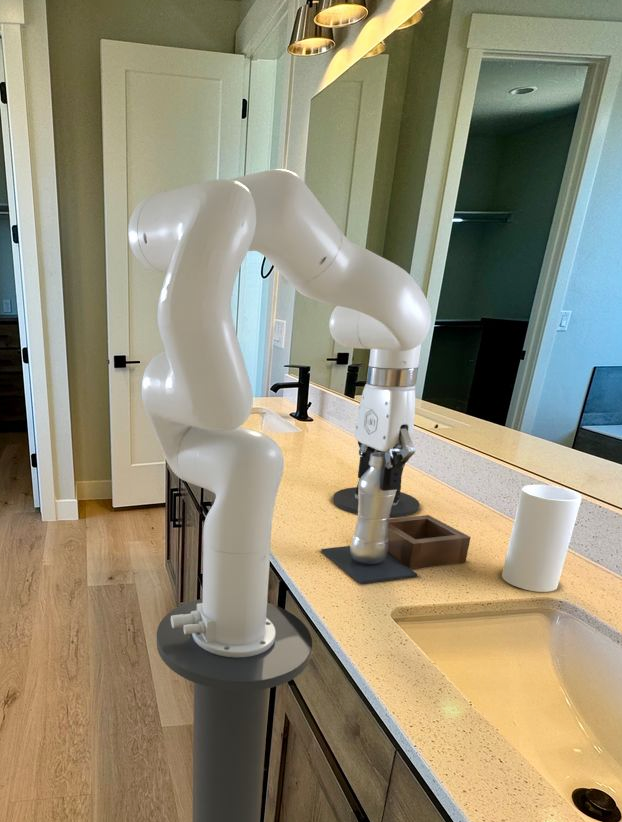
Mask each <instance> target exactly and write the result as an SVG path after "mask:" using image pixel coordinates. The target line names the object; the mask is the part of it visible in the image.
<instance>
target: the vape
mask: <svg viewBox="0 0 622 822" xmlns="http://www.w3.org/2000/svg"><path fill="white" fill-rule="evenodd" d="M393 448H396V447H393ZM377 452H384V453H385V451H379V450H377ZM392 455H393V458H394V457H395V456H396V455H397V453H392ZM404 468H405V466H404V467H402V472H401V478H400V485H399V489H397V491H396V494H395V497H394V500H393V504H392V507H391V512H390V515H389V516H390V517H389V519H395V518H404V517H410V516H411V515H414V514H416V513H417V512H419V510H420V509H419V508H420V502H419V500H417V498H416V497H414V496H412V495H411V494H408V493H405V492H403V491H401V489H402V478H403V477H402V476H403V472H404ZM359 481H360V478H358V482H357V484H356V487H353V486H352V487H347V488H343V489H340V490H338V491H336V492H335V493H334V494H333V498H332V499H333V503H334V505H335V506H337V507H338V508H340V509H341V510H344V511H346V512H349V513H352V514H355V515H358V504H359V497H358V489H359V488H358V484H359Z"/></svg>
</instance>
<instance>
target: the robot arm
mask: <svg viewBox="0 0 622 822" xmlns="http://www.w3.org/2000/svg"><path fill="white" fill-rule="evenodd" d="M127 236H128V237H127V238H128V243H129V247H130V249H131V252H132V253H133V256H134V257H135V258H136V260H137V261H138V262H139V263H140V264H141V265H142V266H143V267H145V268H146V269H148V270H151V271H154V272H157V273H158V272H159V273H166V274H165V277H164V279H163V283H162V286H161V290H160V293H159V298H158V303H157V313H156V315H157V326H158V331H159V335H160V339H161V342H162V345H163V348H164V351H162V352H160V353H158V354H156V355H155V356H154V357H153V358H152V359H151V360H150V361H149V362H148V364H147V366H146V367H145V369H144V371H143V375H142V378H141V400H142V404H143V408H144V410H145V413H146V416H147V418H148V420H149V421H148V422H149V423H150V426H151V428H152V430H153V433H154V436H155V437H156V440H157V443H158V445H159V447H160V449H161V452H162V454H163V456H164V458H165V461H166V462H167V465H168V466H169V468H170V470H171V471H172V472H173V474H174V475H175V476H176V477H178V478H179V479H180V480H182V481H184V482H186V483H188V484H191V485H193V486H197V487H199V488H202V489H205V490H207V491H210V492H211V493H214V494H215V499H214V502H213V504H212V505H211V507H210V509H209V511H208V512H207V514H206V516H205V519H204V523H203V531H202V535H203V536H202V540H203V547H202V548H203V551H202V554H203V555H202V556H203V557H202V599H203V603H198V604H197V610H196V611H191V614H184V615H183V614H180V615H173V616H171V625H172V628H181V627H183V631H184V634H192V636H193V639H194V640H195V642H196V643H197V644H198V645H199V646H200V647H202V648H203V649H205V650H206V651H209V652H211V653H213V654H217V655H220V656H225V657H234V658H239V657H250V656H254V655H258V654H260V653H262V652H265V651H266V650H268V649H269V648H270V647H271V646H272V645H273V644H274V641H275V636H276V631H275V627H274V625H273V624H272V623H271V621H270V620H269V619H267V618H266V612H267V603H268V595H269V594H268V593H269V580H270V578H269V577H270V563H271V547H272V532H273V531H272V529H273V527H272V526H273V518H274V510H275V506H276V500H277V496H278V492H279V488H280V486H281V485H280V484H281V481H282V478H283V473H284V467H285V461H284V454H283V451H282V449H281V447H280V446H279V444H278V443H277V442H276V441H275V440H274V439H273V438H272V437H270V436H269V435H267V434H265V433H263V432H260V431H259V430H255V429H253V428H248V427H243V425H244V424H245V423H246V422H247V421H248V419H249V418H250V415H251V413H252V411H253V405H254V397H253V389H252V384H251V380H250V378H249V377H250V376H249V374H248V371H247V366H246V364H245V360H244V357H243V353H242V349H241V346H240V343H239V338H238V334H237V331H236V327H235V323H234V319H233V314H232V296H233V290H234V287H235V282H236V279H237V276H238V273H239V272H240V269H241V266H242V264H243V262H244V260H245V258H246V256H247V254H248V252H258V253H260V255H262V256H263V257H264V258H265V259H266V260H267V261H268V262H269V263H270V264H271V265H272V266H273V267H274V268H275V269H276V270H277V271H278V272H279V274H281V275H282V277H284V278H285V279H286V281H287V282H288V283H289V284H290V285H291V286H292V287H293V288H294V289H295V290H296V291H297V292H298V293H299V294H301V295H302V296H304V297H306V298H309V299H312V300H314V301H317V302H320V303H322V304H327V305H331V306H336V307H334V309H333V310H332V312H331V314H330V317H329V320H328V321H329V322H328V328H329V333H330V335H331V338H332V339H333V340H334V341H335V343H337V344H339V345H340V346H343V347H345V348H350V349H363V350H370V351H369V360H368V367H367V374H366V375H367V376H366V383H365V385H364V387H363V390H362V394H361V397H360V400H359V401H360V402H359V406H358V411H357V417H356V423H355V430H354V439H355V440H356V441H357V445H358V448H359V450H358V456H359V462H358V463H359V464H358V472H357V478H358V479H359V478H361V477H362V475H363V474H364V473H365V472H366V471H367V470H368V469H369V468H370V465H369V461H370V455H371V453H375V452H377V450H379V451H385V460H386V467H383V473H382V480H381V490H383V491H387V490H397V489H399V485H400V478H401V479H402V477H401V472H402V467H404V468H405V466H406V463H407V462H408V461H409V460H410V459H411V458H412V456H414V455H415V453H416V448H415V446H414V443H413V440H412V438H413V434H414V427H415V417H416V415H415V414H416V387H417V386H416V385H417V379H418V373H419V366H420V357H421V352H422V345H423V342H424V340H426V338H427V336H428V334H429V332H430V330H431V325H432V312H431V307H430V304H429V301H428V299H427V298H426V296H425V294H424V291H423V290H422V289H421V288H420V286H419V284H418V283H417V281H416V280H415V279H414V278H413V277H412V275H411V274H410V273H409V272H407V270H406V269H404V268H402V267H401V266H400V265H397V264H396V263H394V262H392V261H391V260H388V259H387V258H385V257H382V256H381V255H379V254H377V253H375V252H373V251H371V250H369V249H367V248H365V247H363V246H361V245H358V244H356V243H354V242H352V241H350V240H349V239H348V238H347V237H346V235H345V234H344V233H343V231H342V230H341V229H340V227H339V226H338V225H337V224H336V223H335V221H334V220H333V218H332V217H331V216H330V215H329V213H328V212H327V211H326V209H325V208H324V206H323V204H321V202H320V201H319V200H318V198H317V197H316V196H315V195H314V193H313V192H312V191H311V189H310V188H309V186H308V185H307V184H306V183H305V181H304V180H303V179H302V178H301V177H300V176H299V175H298V174H296V173H295V172H293V171H290V170H288V169H283V168H275V169H268V170H263V171H259V172H258V171H257V172H255V173H250V174H245V175H242V176H238V177H233V178H229V179H226V178H225V179H221V178H219V179H211V180H205V181H200V182H196V183H191V184H188V185H185V186H182V187H177V188H174V189H170V190H165V191H161V192H158V193H154V194H151V195H148V196H147V197H145V198H143V199H142V200H141V201H140V202H138V204H137V205H136V207H135V208H134V209H133V211H132V214H131V215H130V217H129V222H128V228H127ZM393 447H396V448H393ZM392 453H397V455H396V456H395V457H394V458H392ZM402 473H403V472H402Z"/></svg>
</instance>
